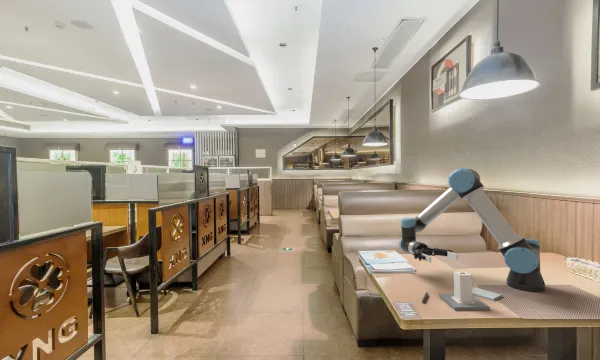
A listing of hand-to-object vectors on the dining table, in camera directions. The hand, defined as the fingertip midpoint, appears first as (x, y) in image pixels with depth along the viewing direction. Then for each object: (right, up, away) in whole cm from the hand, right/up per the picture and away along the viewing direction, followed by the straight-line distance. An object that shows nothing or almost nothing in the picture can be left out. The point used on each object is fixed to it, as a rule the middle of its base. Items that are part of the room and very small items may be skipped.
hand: (443, 258), depth 139 cm
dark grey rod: (-11, -16, -6) cm, 21 cm away
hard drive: (+16, -16, -3) cm, 23 cm away
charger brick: (+3, -14, -12) cm, 19 cm away
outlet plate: (+3, -16, -12) cm, 20 cm away
